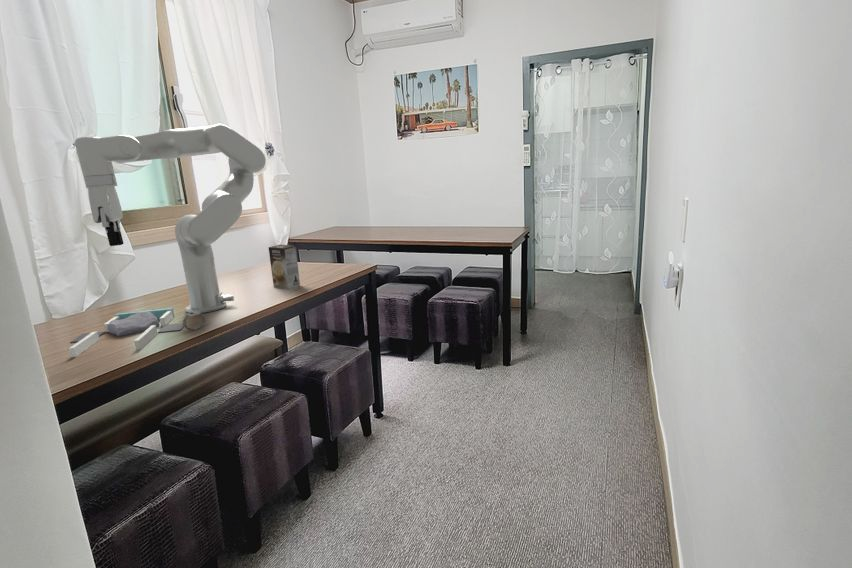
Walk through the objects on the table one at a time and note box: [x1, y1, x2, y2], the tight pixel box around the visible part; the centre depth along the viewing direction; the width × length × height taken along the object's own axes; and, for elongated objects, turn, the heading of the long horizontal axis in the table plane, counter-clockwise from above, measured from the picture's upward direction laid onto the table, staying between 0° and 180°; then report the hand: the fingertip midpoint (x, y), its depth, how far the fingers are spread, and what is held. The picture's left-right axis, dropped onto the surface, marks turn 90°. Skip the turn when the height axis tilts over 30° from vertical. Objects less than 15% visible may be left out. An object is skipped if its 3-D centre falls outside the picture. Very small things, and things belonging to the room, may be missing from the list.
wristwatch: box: [182, 311, 206, 331], centre depth 137 cm, size 6×3×5 cm, turn 147°
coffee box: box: [267, 244, 301, 290], centre depth 182 cm, size 9×6×16 cm
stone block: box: [108, 312, 161, 337], centre depth 140 cm, size 12×5×10 cm
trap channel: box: [68, 307, 188, 358], centre depth 135 cm, size 29×29×3 cm
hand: (116, 244), depth 138 cm, fingers closed
